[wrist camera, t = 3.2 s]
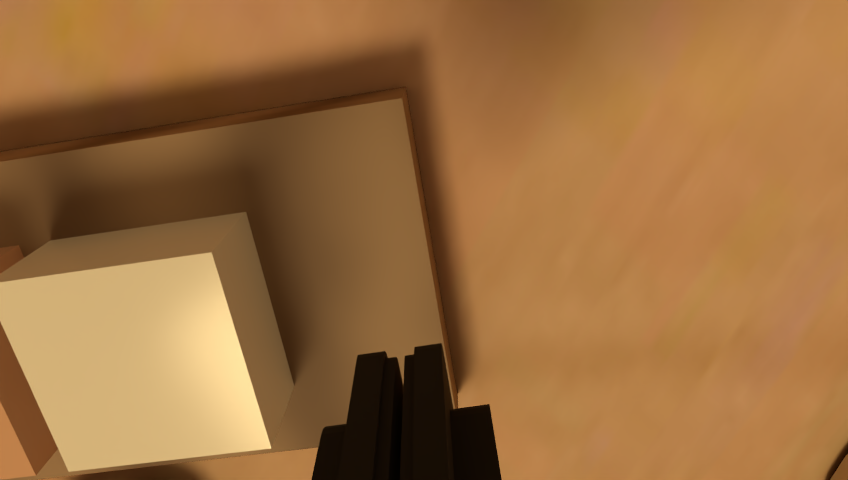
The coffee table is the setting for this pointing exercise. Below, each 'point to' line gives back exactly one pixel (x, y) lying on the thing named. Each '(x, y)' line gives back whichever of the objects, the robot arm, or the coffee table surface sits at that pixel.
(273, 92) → the coffee table surface
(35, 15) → the coffee table surface
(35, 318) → the cream tile
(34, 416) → the terracotta tile
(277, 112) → the walnut board
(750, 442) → the coffee table surface
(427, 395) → the robot arm
